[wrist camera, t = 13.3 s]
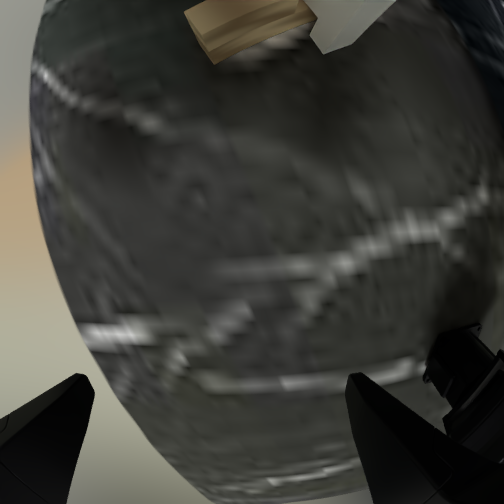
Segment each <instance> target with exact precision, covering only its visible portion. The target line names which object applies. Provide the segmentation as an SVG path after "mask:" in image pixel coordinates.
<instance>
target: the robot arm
mask: <svg viewBox="0 0 504 504" xmlns="http://www.w3.org/2000/svg"><path fill="white" fill-rule="evenodd" d="M481 329H482V325H481V324H480V323H477V324H474V325H470V326H467V327H464V328H460V329H457V330H453V331H449V332H446V333H442V334H440V335H439V337H438V338H437V342H436V345H435V348H434V351H433V354H432V357H431V359H430V362H429V365H428V368H427V370H426V373H425V375H424V378H423V381H424V383H425V384H426V383H430V382H432V383H433V384H434V386H435V387H436V389H437V390H438V392H439V393H440V395H441V396H442V397H443V398H445V397H446V399H447V400H448V402H449V404H450V405H451V407H452V408H453V409H452V410H451V411H450V412H449V413H448V414H446V415H445V416H444V417H443V418H442V420H443V423H444V427H445V430H446V434H447V435H445V434H444V433H443V432H441V431H440V430H438V429H437V428H435V429H434V426H433V425H431V424H430V423H429V422H427V421H426V420H424V419H423V418H422V417H420V416H419V415H418V414H416V413H415V412H414V411H412V410H411V409H410V408H408V407H407V406H406V405H404V404H403V403H401V402H400V401H399V400H397V399H396V398H395V397H394V396H392V395H391V394H390V393H388V392H387V391H386V390H384V389H383V388H382V387H380V386H379V385H378V384H376V383H375V382H374V381H372V380H371V379H370V378H369V377H367V376H366V375H365V374H363V373H361V372H358V373H352V374H350V375H349V376H348V380H347V385H346V390H345V398H346V403H347V408H348V413H349V418H350V424H351V429H352V434H353V438H354V441H355V444H356V448H357V451H358V454H359V457H360V460H361V463H362V467H363V470H364V473H365V476H366V480H367V483H368V486H369V490H370V493H371V496H372V500H373V503H374V504H504V351H503V350H501V349H500V350H499V351H498V352H497V355H496V356H495V355H494V354H493V353H492V352H491V351H490V349H489V348H488V347H487V346H486V345H485V344H484V343H483V342H482V341H481V340H480V339H479V338H478V337H479V334H480V331H481ZM94 396H95V392H94V389H93V387H92V385H91V383H90V381H89V379H88V377H87V376H86V375H84V374H79V373H75V374H74V375H72V376H70V377H69V378H67V379H65V380H64V381H62V382H61V383H59V384H57V385H56V386H54V387H53V388H51V389H49V390H48V391H46V392H44V393H43V394H41V395H39V396H38V397H36V398H35V399H33V400H31V401H30V402H28V403H26V404H25V405H23V406H21V407H20V408H18V409H17V410H15V411H13V412H11V413H10V414H8V415H6V416H5V417H3V418H1V419H0V504H66V503H67V499H68V494H69V490H70V486H71V482H72V478H73V475H74V471H75V467H76V464H77V460H78V457H79V454H80V450H81V447H82V444H83V441H84V437H85V434H86V431H87V427H88V423H89V419H90V414H91V409H92V405H93V401H94Z"/></svg>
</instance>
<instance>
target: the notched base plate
mask: <svg viewBox="0 0 504 504" xmlns="http://www.w3.org/2000/svg"><path fill="white" fill-rule="evenodd" d="M184 14H185V16H186V18H187V20H188V22H189V24H190V26H191V28H192V30H193V32H194V34H195V36H196V38H197V40H198V42H199V44H200V46H201V47H202V49H203V50H204V51H205V53H206V54H207V56H208V57H209V58H210V60H211V61H212V63H213V64H214V65H215V64H217V63H219V62H221V61H222V60H224V59H226V58H228V57H230V56H232V55H234V54H236V53H238V52H240V51H242V50H244V49H246V48H248V47H250V46H252V45H254V44H257V43H259V42H261V41H263V40H265V39H268V38H270V37H272V36H275V35H277V34H280V33H282V32H285V31H287V30H290V29H292V28H295V27H298V26H300V25H303V24H306V23H309V22H312V21H315V20H317V19H318V17H317V16H316V15H315V14H314V12H313V11H312V10H311V9H310V8H309V6H308V5H307V4H306V3H305V2H304V0H206V1H204V2H202V3H200V4H198V5H196V6H194V7H192V8H190V9H188V10H186V11H184Z"/></svg>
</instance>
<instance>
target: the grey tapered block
mask: <svg viewBox="0 0 504 504" xmlns="http://www.w3.org/2000/svg"><path fill="white" fill-rule="evenodd" d="M395 1H396V0H304V2H305V3H306V4H307V5H308V6H309V8H310V9H311V10H312V11H313V12H314V14H315V15H316V16H317V17H318V19H317V21H316V23H315V25H314V27H313V29H312V31H311V33H310V35H309V36H310V37H311V38H312V40H313V41H314V42H315V44H316V45H317V46H318V48H319V49H320V51H321V52H322V54H326V53H329V52H331V51H334V50H337V49H340V48H343V47H345V46H348V45H351V44H353V43H354V42H355V41H356V40H357V39H358V38H359V36H360V35H361V34H362V33H363V32H364V31H365V30H366V29H367V28H368V27H369V26H370V25H371V24H372V23H373V22H374V21H375V20H376V19H377V18H379V17H380V16H381V15H382V14H383V13H384V12H385V11H386V10H387V9H388V8H389V7H390V6H391V5H392V4H393V3H394V2H395Z"/></svg>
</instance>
